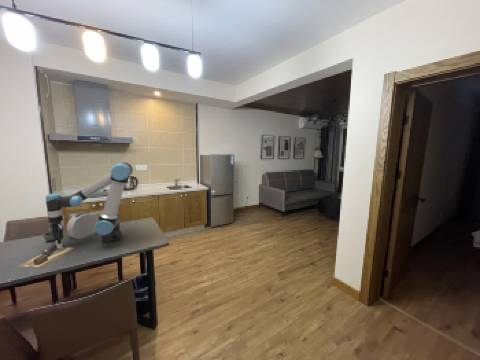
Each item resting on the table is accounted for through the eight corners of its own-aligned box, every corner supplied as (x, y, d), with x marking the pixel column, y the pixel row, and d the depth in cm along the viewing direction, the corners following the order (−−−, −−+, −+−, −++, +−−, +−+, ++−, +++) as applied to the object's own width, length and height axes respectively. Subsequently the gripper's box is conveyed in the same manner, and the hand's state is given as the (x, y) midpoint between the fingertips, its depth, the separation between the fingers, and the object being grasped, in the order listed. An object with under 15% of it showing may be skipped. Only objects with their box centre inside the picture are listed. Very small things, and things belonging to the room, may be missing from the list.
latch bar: (48, 256, 138) (47, 251, 137) (41, 257, 137) (40, 251, 136) (60, 247, 150) (59, 242, 150) (53, 248, 149) (53, 242, 149)
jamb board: (75, 249, 151) (75, 243, 150) (43, 268, 126) (42, 261, 126) (54, 248, 151) (53, 242, 151) (17, 268, 126) (16, 260, 126)
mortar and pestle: (45, 240, 164) (43, 226, 162) (61, 237, 169) (59, 223, 168) (43, 246, 155) (41, 230, 153) (60, 242, 161) (58, 228, 159)
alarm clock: (94, 230, 186) (92, 209, 183) (99, 231, 183) (98, 210, 181) (67, 239, 166) (64, 215, 164) (73, 241, 164) (70, 217, 161)
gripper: (66, 215, 145) (70, 247, 148) (57, 213, 150) (60, 243, 154) (53, 219, 138) (57, 252, 142) (43, 216, 144) (48, 248, 147)
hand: (59, 247), depth 148 cm, fingers closed
